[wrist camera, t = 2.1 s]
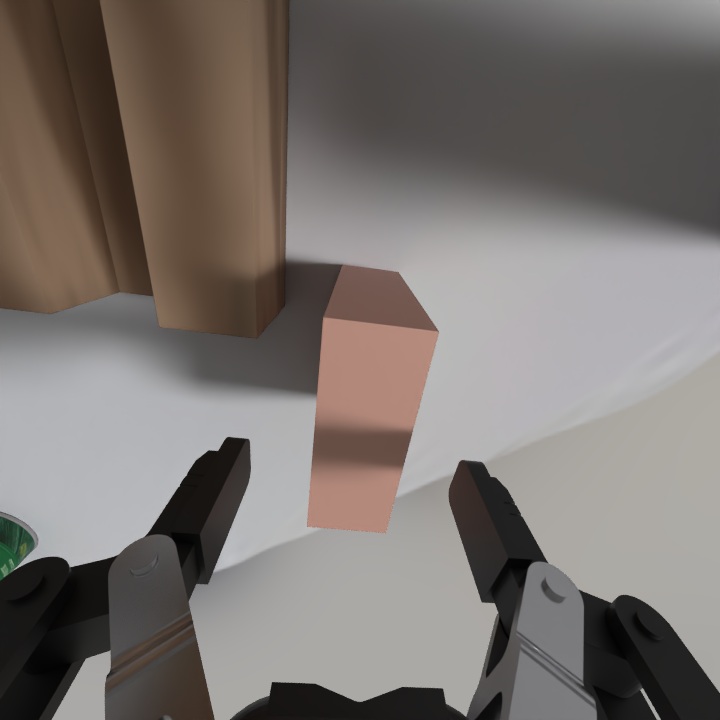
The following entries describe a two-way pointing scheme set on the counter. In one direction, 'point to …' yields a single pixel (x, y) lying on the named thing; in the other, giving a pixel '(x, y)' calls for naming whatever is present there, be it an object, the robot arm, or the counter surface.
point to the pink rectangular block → (366, 397)
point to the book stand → (145, 157)
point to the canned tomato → (14, 543)
